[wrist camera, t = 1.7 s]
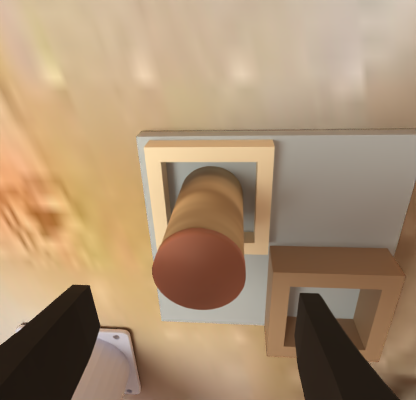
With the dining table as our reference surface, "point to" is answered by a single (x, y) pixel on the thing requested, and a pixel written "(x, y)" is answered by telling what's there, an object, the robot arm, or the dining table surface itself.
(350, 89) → the dining table surface
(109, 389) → the robot arm
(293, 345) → the mount
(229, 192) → the pin
